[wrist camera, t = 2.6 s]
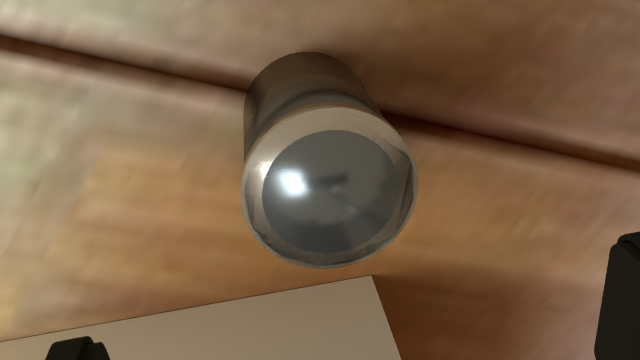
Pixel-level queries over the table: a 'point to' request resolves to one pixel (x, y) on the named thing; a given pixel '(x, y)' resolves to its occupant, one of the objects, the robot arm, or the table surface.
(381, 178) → the silver grey short cylinder
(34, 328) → the table surface
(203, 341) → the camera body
